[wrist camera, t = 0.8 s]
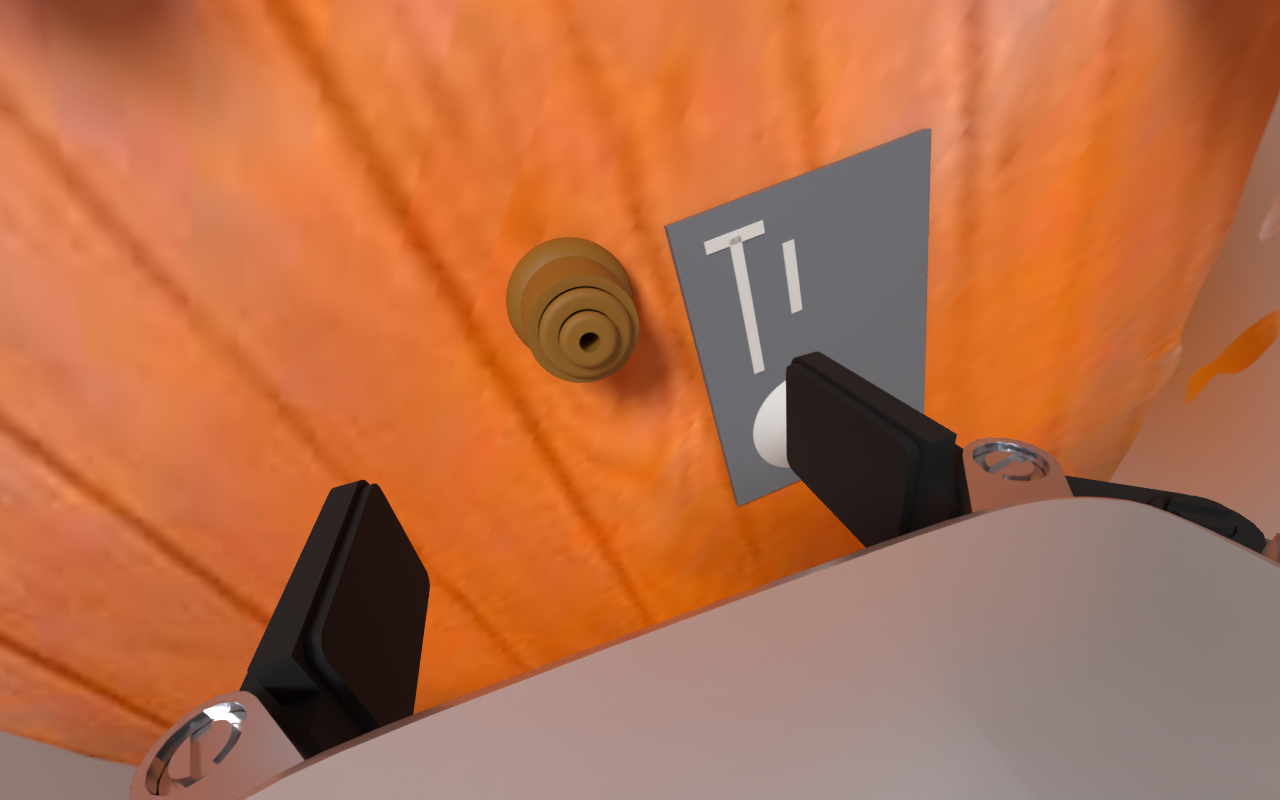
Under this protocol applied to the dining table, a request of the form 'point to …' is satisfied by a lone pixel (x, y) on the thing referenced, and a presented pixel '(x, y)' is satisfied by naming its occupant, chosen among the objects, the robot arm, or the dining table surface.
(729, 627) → the robot arm
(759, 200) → the slate board
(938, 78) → the dining table surface
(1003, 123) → the dining table surface
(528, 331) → the ornamental finial
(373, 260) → the dining table surface
